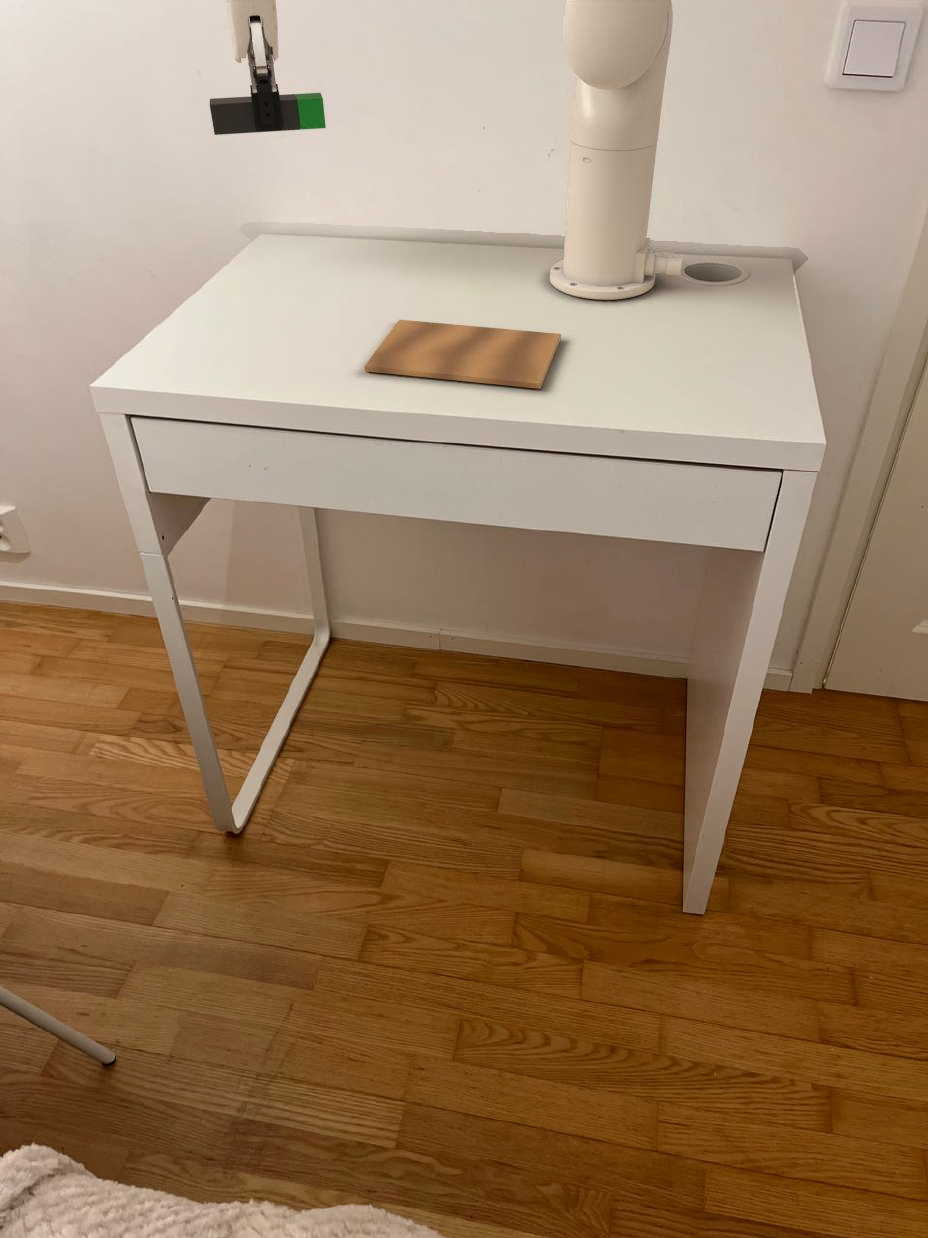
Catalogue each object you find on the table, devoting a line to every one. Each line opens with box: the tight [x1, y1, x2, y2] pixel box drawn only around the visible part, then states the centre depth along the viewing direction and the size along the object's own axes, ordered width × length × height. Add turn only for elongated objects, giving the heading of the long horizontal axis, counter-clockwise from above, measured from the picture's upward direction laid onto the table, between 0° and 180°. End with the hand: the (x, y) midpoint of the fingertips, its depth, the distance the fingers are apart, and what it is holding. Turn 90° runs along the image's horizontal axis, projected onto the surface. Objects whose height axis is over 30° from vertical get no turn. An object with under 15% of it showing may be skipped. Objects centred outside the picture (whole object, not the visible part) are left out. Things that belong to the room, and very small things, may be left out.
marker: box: [209, 92, 327, 136], centre depth 111 cm, size 13×3×3 cm, turn 101°
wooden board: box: [364, 319, 562, 390], centre depth 97 cm, size 18×12×1 cm, turn 76°
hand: (269, 124), depth 111 cm, fingers closed on marker, 3 cm apart
